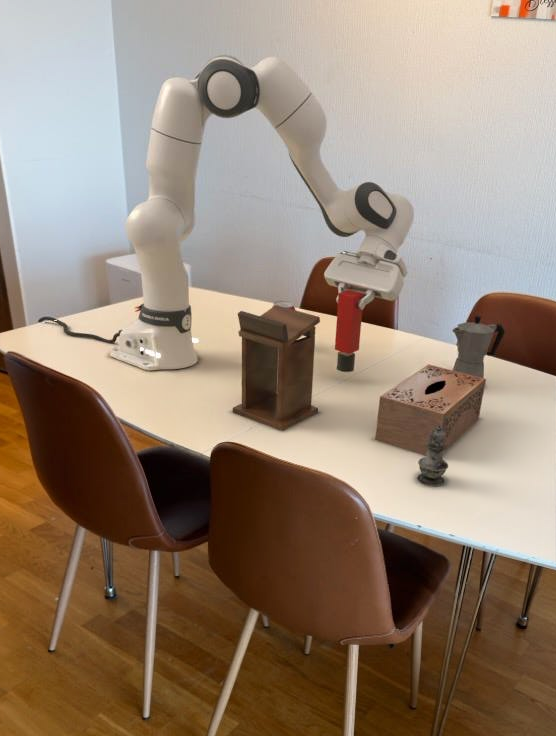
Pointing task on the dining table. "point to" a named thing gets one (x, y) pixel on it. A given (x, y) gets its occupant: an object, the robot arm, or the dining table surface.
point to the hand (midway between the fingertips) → (349, 305)
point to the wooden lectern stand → (277, 366)
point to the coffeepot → (475, 346)
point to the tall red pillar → (348, 329)
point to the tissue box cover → (429, 408)
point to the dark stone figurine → (433, 459)
